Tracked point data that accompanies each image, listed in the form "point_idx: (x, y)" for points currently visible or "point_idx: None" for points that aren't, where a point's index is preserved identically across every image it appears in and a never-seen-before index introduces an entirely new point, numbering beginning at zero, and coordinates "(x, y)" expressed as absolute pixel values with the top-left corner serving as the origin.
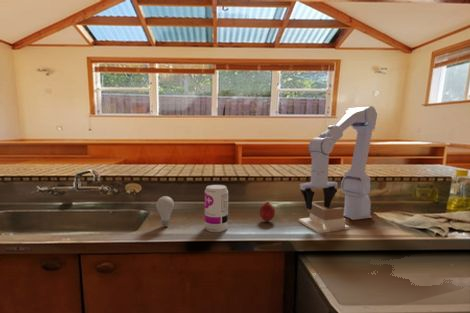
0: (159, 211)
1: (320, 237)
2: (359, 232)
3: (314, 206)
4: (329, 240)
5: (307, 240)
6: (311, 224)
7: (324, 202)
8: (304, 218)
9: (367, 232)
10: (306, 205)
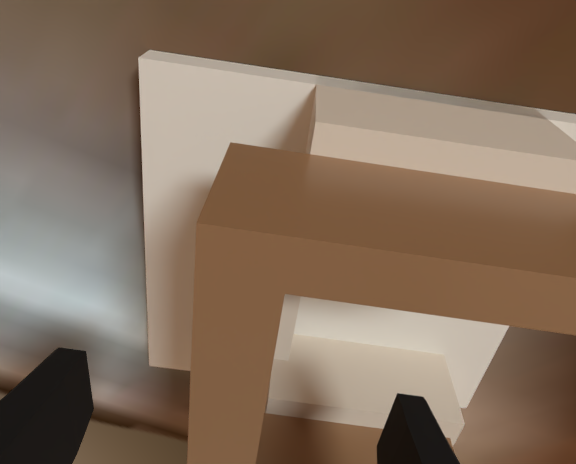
0: None
1: (131, 390)
2: (464, 439)
3: (194, 389)
4: (161, 431)
5: (14, 385)
6: (177, 261)
7: (410, 450)
8: (222, 82)
9: (513, 456)
10: (27, 386)
